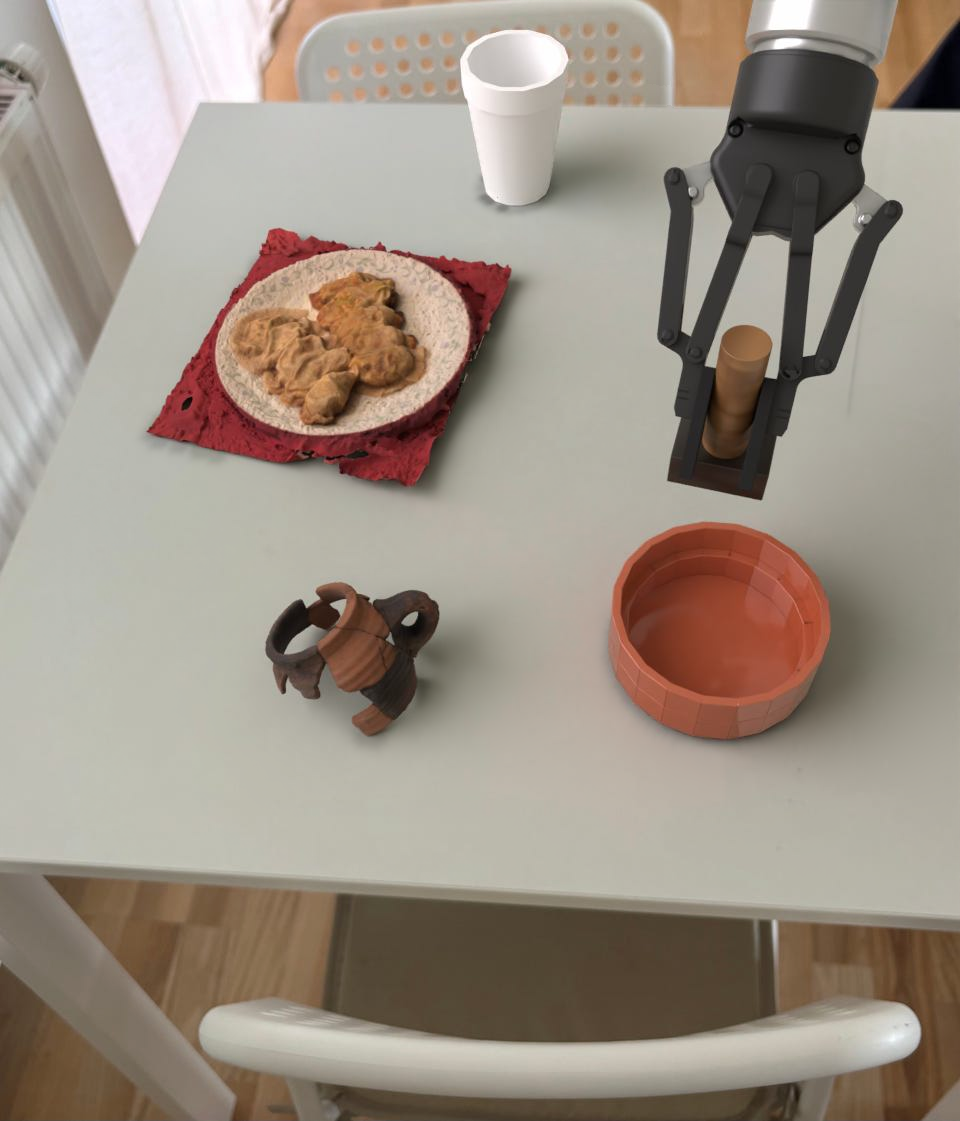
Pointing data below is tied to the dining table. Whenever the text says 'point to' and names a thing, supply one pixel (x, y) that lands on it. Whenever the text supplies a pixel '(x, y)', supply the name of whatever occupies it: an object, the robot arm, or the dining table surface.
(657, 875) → the dining table surface
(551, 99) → the foam cup
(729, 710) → the bowl
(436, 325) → the plate with food
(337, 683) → the pottery mug
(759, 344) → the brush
